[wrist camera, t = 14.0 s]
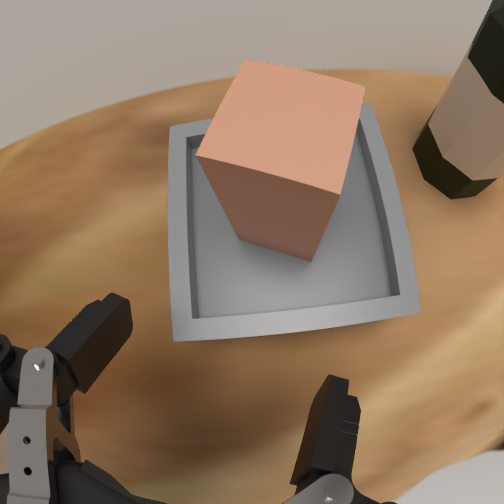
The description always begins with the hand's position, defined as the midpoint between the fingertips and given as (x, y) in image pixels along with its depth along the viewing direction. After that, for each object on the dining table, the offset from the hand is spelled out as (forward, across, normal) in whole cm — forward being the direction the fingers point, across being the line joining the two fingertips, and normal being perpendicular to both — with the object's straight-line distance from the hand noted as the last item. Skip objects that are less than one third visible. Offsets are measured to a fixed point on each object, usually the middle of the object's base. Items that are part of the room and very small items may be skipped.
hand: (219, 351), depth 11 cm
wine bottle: (+23, -13, -6) cm, 27 cm away
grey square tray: (+14, 0, +3) cm, 15 cm away
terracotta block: (+10, 0, -1) cm, 11 cm away
